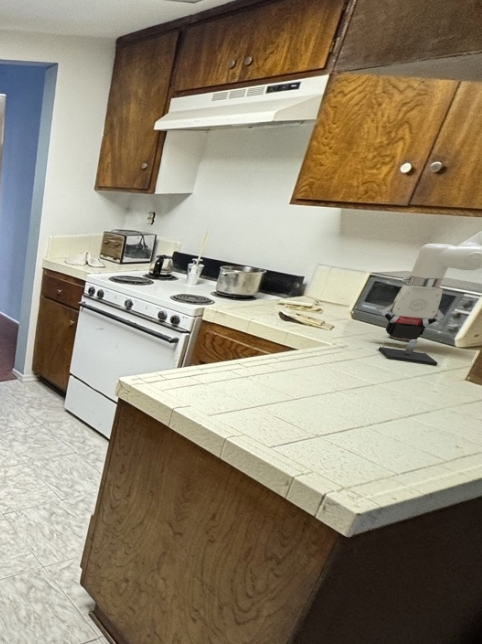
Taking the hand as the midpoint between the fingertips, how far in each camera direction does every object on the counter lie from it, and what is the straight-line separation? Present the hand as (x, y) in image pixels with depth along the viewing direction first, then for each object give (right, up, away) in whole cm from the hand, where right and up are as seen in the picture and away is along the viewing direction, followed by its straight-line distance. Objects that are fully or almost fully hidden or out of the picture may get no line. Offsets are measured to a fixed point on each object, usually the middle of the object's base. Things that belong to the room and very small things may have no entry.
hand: (402, 334), depth 160 cm
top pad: (0, -1, 0) cm, 1 cm away
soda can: (+9, -1, +9) cm, 13 cm away
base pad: (-10, -8, -10) cm, 16 cm away
